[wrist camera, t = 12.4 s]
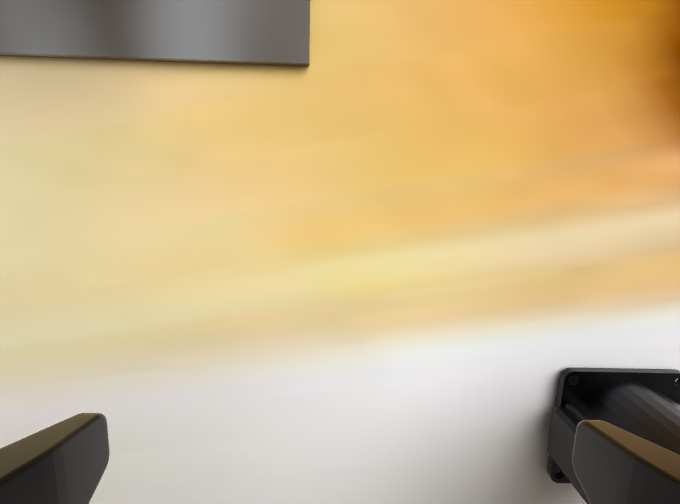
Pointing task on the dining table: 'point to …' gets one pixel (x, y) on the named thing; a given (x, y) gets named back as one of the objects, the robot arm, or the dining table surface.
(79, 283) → the dining table surface
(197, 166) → the dining table surface
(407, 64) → the dining table surface
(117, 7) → the corner tray
